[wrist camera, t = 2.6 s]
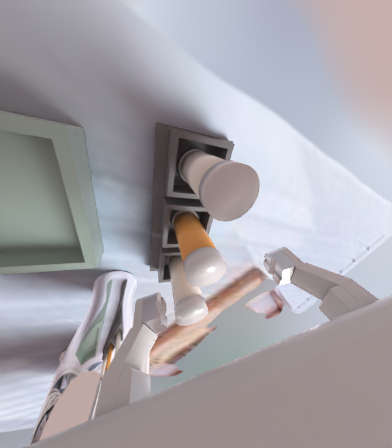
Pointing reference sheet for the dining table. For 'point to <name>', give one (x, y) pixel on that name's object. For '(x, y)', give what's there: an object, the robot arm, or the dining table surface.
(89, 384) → the beer glass
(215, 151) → the fuse block
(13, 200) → the parts tray
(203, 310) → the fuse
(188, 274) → the cylinder
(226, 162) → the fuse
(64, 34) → the dining table surface
